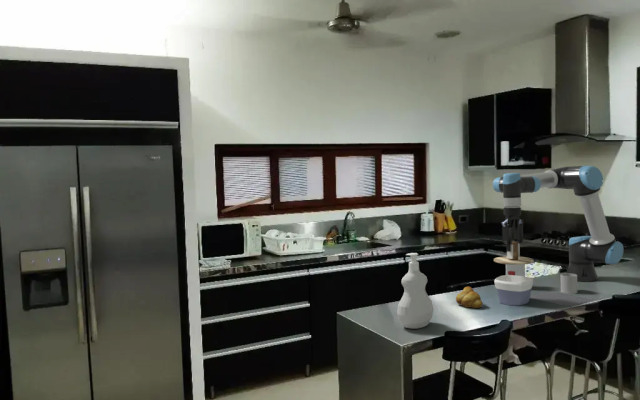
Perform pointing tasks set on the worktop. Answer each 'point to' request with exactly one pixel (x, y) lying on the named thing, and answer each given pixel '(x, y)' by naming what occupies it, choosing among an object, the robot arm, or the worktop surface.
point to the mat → (560, 298)
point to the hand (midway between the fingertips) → (513, 257)
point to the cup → (569, 283)
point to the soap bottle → (414, 298)
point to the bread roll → (469, 298)
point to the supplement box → (515, 270)
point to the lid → (514, 258)
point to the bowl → (513, 289)
